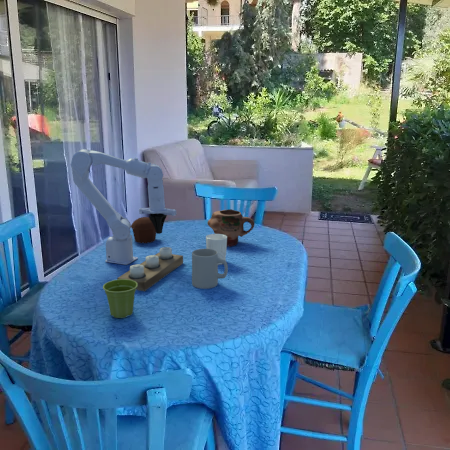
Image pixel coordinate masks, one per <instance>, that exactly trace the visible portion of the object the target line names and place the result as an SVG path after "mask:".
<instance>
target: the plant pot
mask: <svg viewBox="0 0 450 450" xmlns="http://www.w3.org/2000/svg"><path fill="white" fill-rule="evenodd" d="M137 286H138V284H137V282H135V281H133V280H128V279H118V280H117V279H113V280H110V281H109V280H108V281H107V282H105V283H104V284H103V286H102V289H103V290H104V292H105V294H106V299H107V302H108V303H107V304H108V308H109V313H110V316H112V317H113V318H116V319H124V318H127V317H129V316H132V314H133V313H134V305H135V304H134V302H135V295H136V291H137V290H136V288H137Z"/></svg>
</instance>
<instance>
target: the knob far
mask: <svg viewBox="0 0 450 450" xmlns="http://www.w3.org/2000/svg"><path fill="white" fill-rule="evenodd" d="M159 252H160V258H163V259H168V258H171V257H172V254H173V248H172V247H170V246H164V247H160V248H159Z"/></svg>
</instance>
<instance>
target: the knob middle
mask: <svg viewBox="0 0 450 450" xmlns="http://www.w3.org/2000/svg"><path fill="white" fill-rule="evenodd" d="M145 261H146V267H149V268H155V267H158V266H159V257H158V256H156V254H152V255H147V256H145Z"/></svg>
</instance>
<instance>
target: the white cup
mask: <svg viewBox="0 0 450 450" xmlns="http://www.w3.org/2000/svg"><path fill="white" fill-rule="evenodd" d="M205 244H206V246H205V247H206V248H205V249H213V250H216V251H217V252H218V258H222V259H224V260H226V258H227V257H226V255H227V247H228V246H227V236H226V235H223V234H215V233H211V234H206V236H205ZM226 261H227V260H226ZM221 265H223V264H222V263H218V266H221Z"/></svg>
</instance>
